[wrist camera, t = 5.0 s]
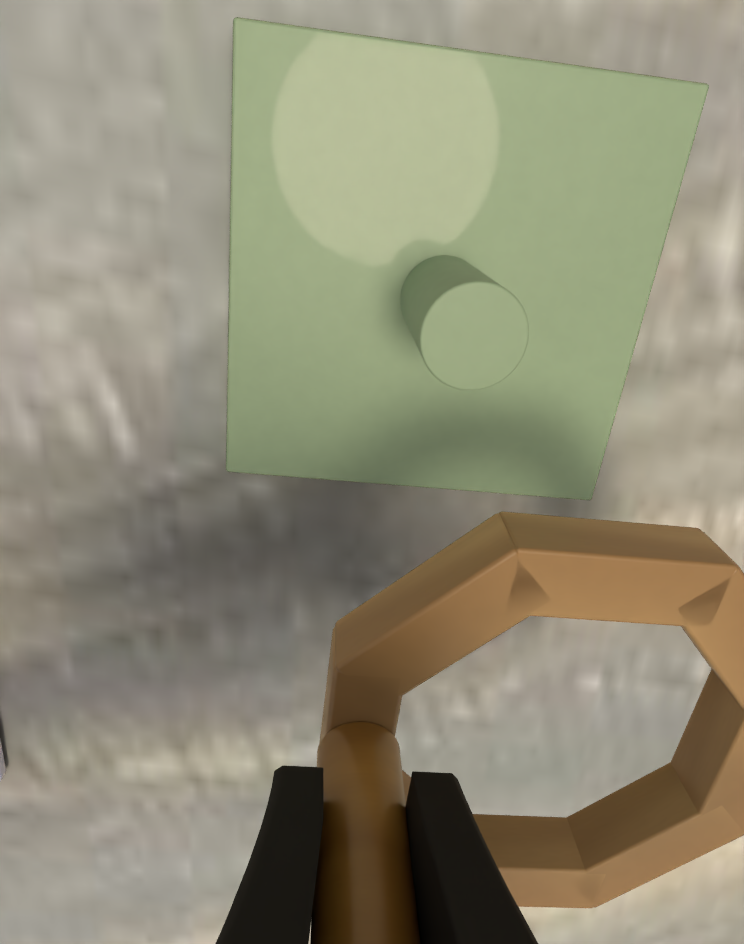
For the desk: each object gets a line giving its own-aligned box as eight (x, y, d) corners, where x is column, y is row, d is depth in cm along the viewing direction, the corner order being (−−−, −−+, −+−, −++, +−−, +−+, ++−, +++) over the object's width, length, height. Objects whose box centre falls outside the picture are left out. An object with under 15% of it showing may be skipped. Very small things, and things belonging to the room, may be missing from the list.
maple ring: (302, 844, 14) (281, 1241, 9) (341, 496, 10) (345, 817, 5) (679, 856, 14) (863, 1226, 9) (834, 538, 11) (1262, 851, 6)
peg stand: (232, 454, 18) (194, 554, 13) (241, 27, 14) (189, -48, 9) (577, 482, 19) (657, 585, 14) (683, 90, 15) (848, 49, 10)
